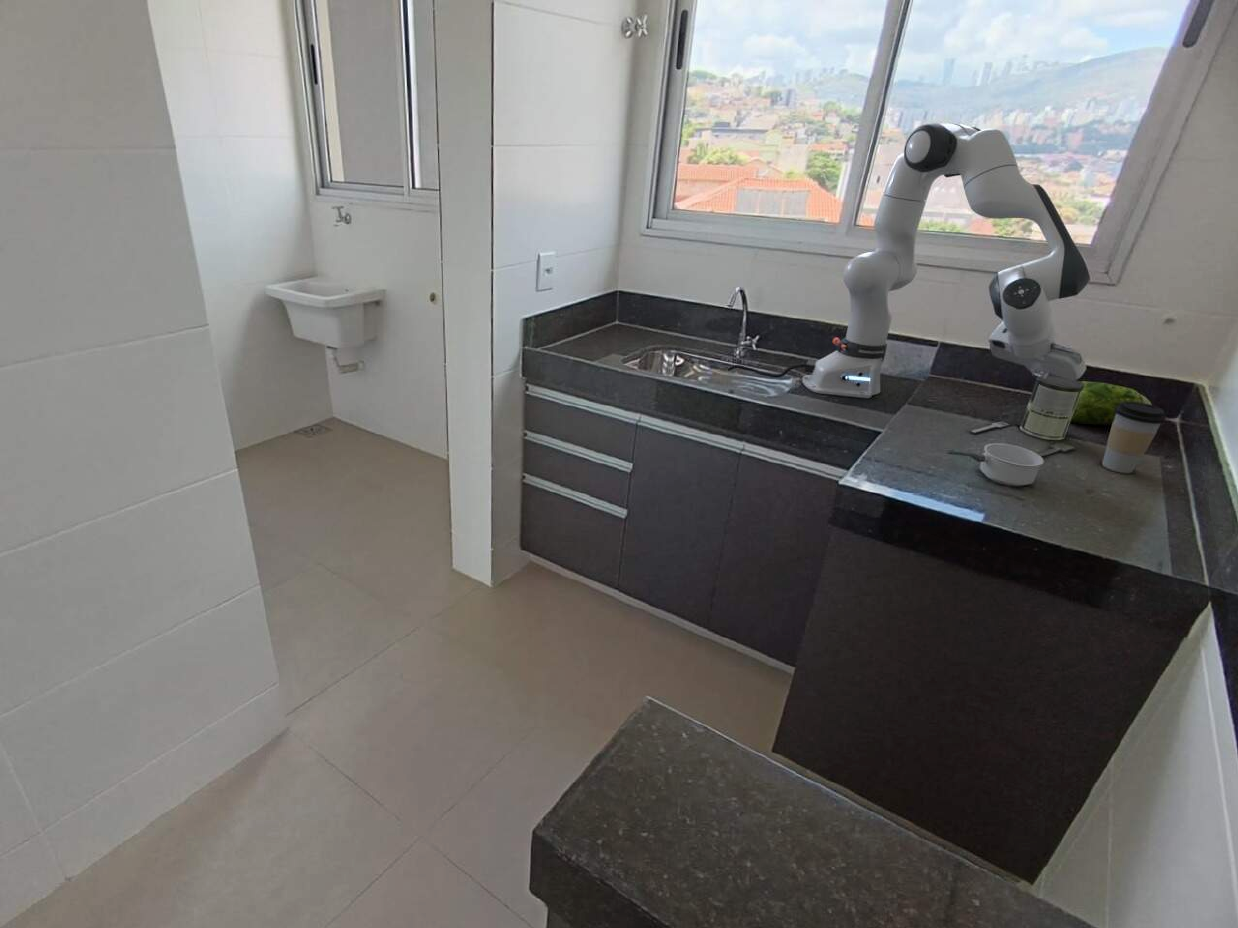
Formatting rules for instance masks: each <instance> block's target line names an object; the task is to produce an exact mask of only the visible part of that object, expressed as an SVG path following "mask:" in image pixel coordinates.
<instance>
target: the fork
mask: <svg viewBox="0 0 1238 928" xmlns="http://www.w3.org/2000/svg"><path fill="white" fill-rule="evenodd" d="M1009 426H1010V423H1007V422H1004V421H999V422H993V423H990V425H987V426H982V427H979V428H976V429H972V430H970V431H969V433H971V434H972V435H977V434H980V433H984V432H987V431H990V430H991V431H992V430H994V429H1003V428H1005V427H1009Z"/></svg>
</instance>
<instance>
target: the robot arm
mask: <svg viewBox="0 0 1238 928" xmlns="http://www.w3.org/2000/svg"><path fill="white" fill-rule="evenodd" d="M1011 146H1012V145H1011V144H1010V142H1009V141H1008V138H1007V137H1006V135H1005V134H1004V132H1002V130H1000V129H997V128H985V129H980V128H978V127H975V126H968V125H964V124H960V123H938V122H929V123H925V124H922V125H918V126H917V127H916V128H914V130H912V131H911V132H910V134H909V135H908V137H907V139H906V141H905V143H904V147H903V152H902V153H901V154H899V155H898V157H897V158H896V159H895V162H894V164H893V166H892V167H891V170H890V172H889V174H888V177H887V179H886V182H885V184H884V188H883V191H882V194H881V198H880V200H879V204H878V206H877V207H878V208H877V211H876V214H875V218H874V221H873V228H874V230H875V232H876V248H875V251H868V252H864V253H861V254H859V255H857V256H855V257H853V258H851V259H850V260H849V261H848V262H847V263H846V265H845V267H844V269H843V275H842V277H843V282H844V285H845V286H846V289H848V292H849V298H850V313H849V319H848V325H847V330H846V334H845V337H844V338H842V339H841V338H839V337H834V338H833V339H832V344H833V345H835V346H837V347H836V350H835V351H833V352H832V353H829V354H828V355H826V356H824V357H823V358H820V359H818V360H813V359H808V360H807V361H806V363H800V364H799V363H798V364H793V365H790V366H789V367H787V368H786V369H785V370H784V371H783V372H781V373H776V374H775V373H774V374H773V373H771V372H770V373H769V372H765V371H761V370H758V369H756V368H752V367H748V366H744V365H739V364H734V365H732V366H729V367H728V368H727V369H726V371H729V372H730V371H732V370H734V369H741V370H744V371H750V372H752V373H755V374H757V375H761V376H764V377H769V378H782V377H784V376H786V375H787V374H788V373H789V372H790V371H791V370H794V369H798V368H804V372H805V373H810V374H806V375H803V377H802V379H801V382H802V384H803V386H805V387H806V389H808V390H810V391H811V392H813V393H816V394H821V395H822V394H823V395H831V396H832V395H833V396H841V397H852V398H861V399H871V398H872V396H876V395H878V394H880V393H881V374H882V373H881V372H882V364H883V362H884V360H885V357H886V353H887V347H888V344H887V340H888V336H889V331H890V327H891V323H892V319H893V318H892V313H891V312H890V310H889V304H888V303H889V302H888V301H889V300H888V299H889V297H888V295H889V292H892V291H898V290H900V289H902V288H904V287H906V286H907V285H909V284H910V283H911V282H913V281H914V279H915V277H916V275H917V273H918V263H917V260H916V258H915V250H916V239H917V233H918V228H919V226H920V222H921V219H922V216H923V213H924V210H925V207H926V203H927V200H928V197H929V193H930V191H931V188H932V186H933V184H934V182H935V181H936V180H937V179H938V178H940V177H942V176H944V177H945V178H952V177H959V176H960V178H961V181H962V186H963V191H964V194H965V197H966V200H967V203H968V205H969V208H970V209H971V210H972V211H973V212H974V213H975V214H977V215H978V216H980V217H983V218H988V219H995V220H1001V219H1024V220H1025V219H1026V220H1030V221H1031V222H1034V223H1035V224H1037V226H1038V227H1039V229H1040V231H1041V233H1042V235H1043V237H1044V239H1045V240H1046V243H1047V244H1048V246H1049V248H1050V250H1051V253H1049V254H1048V255H1046V256H1043V257H1039V258H1037V259H1034V260H1030V261H1028V262H1024V263H1022V264H1017V265H1014V266H1011V267H1008V268H1004V269H1002V270H1000V271H998V272H997V273H996V274H995V275H994V276H993V278H992V279H991V281H990V283H989V284H988V293H989V298H990V301H991V303H992V307H993V311H994V314H995V316H996V317H998V318H999V319H1001V320H1002V322H1001V323H1000V324H999V325H998V326H997V327H996V328H995V329H994V331H993V332H992V333H991V335H990V336H989V337H988V342H989V349H990V353H991V355H992V356H993V357H995V358H996V359H1000V360H1003V361H1007V362H1010V363H1013V364H1017V365H1020V366H1023V367H1025V368H1026V369H1027V370H1028V371H1029V373H1031V376H1032V377H1036V378H1037V377H1039V378H1042V379H1045V378H1046V377H1047V376H1048V375H1056V376H1060V377H1063V378H1066V379H1070V380H1074V381H1075V380H1079V379H1080V378H1081V377H1082V376H1083V375H1084V374H1085V372H1086V371H1087V365H1086V362H1085V358H1084V357H1083V354H1082V352H1080V350H1078V349H1076V348H1074V347H1070V346H1067V345H1063V344H1059V343H1057V335H1056V330H1055V326H1054V321H1053V320H1052V309H1051V305H1050V302H1051V301H1054V300H1061V299H1066V298H1071V297H1076V296H1078V295H1079V294H1080V293H1081V292H1082V291H1083V290H1084V289H1085V288H1086V287H1087V285H1088V284H1089V283H1090V281H1091V270H1090V265H1089V263H1088V261H1087V259H1086V258H1085V256H1084V255H1083V254H1082V253H1081V251H1080V250H1079V248H1078V247H1077V246H1076V243H1075V242H1074V239H1073V238H1072V236H1071V235H1070V233H1069V231H1068V229H1067V227H1066V224H1065V223H1064V221H1063V219H1062V218H1061V215H1060V214H1059V212H1058V210H1057V208H1056V206H1055V205H1054V203H1053V201H1052V200H1051V198H1050V196H1049V194H1048V193H1047V191H1046V190H1045V188H1043V187H1042V185H1040V184H1035V183H1030V182H1029V181H1027V180H1026V179H1025V178H1024V177H1023V176H1022V174H1021V171H1020V170H1019V165H1018V162H1017V159H1016V156H1015V153H1014V151H1013V149H1012V147H1011Z"/></svg>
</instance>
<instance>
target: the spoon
mask: <svg viewBox="0 0 1238 928" xmlns="http://www.w3.org/2000/svg"><path fill="white" fill-rule="evenodd" d="M1049 448H1050V449H1047V450H1045V451H1041V452H1039V453H1037V454H1038V455H1039V456H1041V457H1042V458H1044V457H1047V456H1050V455H1053V454H1055V453H1062V454H1064V453H1068V452H1070V451H1073V450H1074V448H1075V447H1074V446H1072V445H1068V444H1066V443H1063V442H1058V443H1055V444H1052V445H1050V447H1049Z"/></svg>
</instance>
